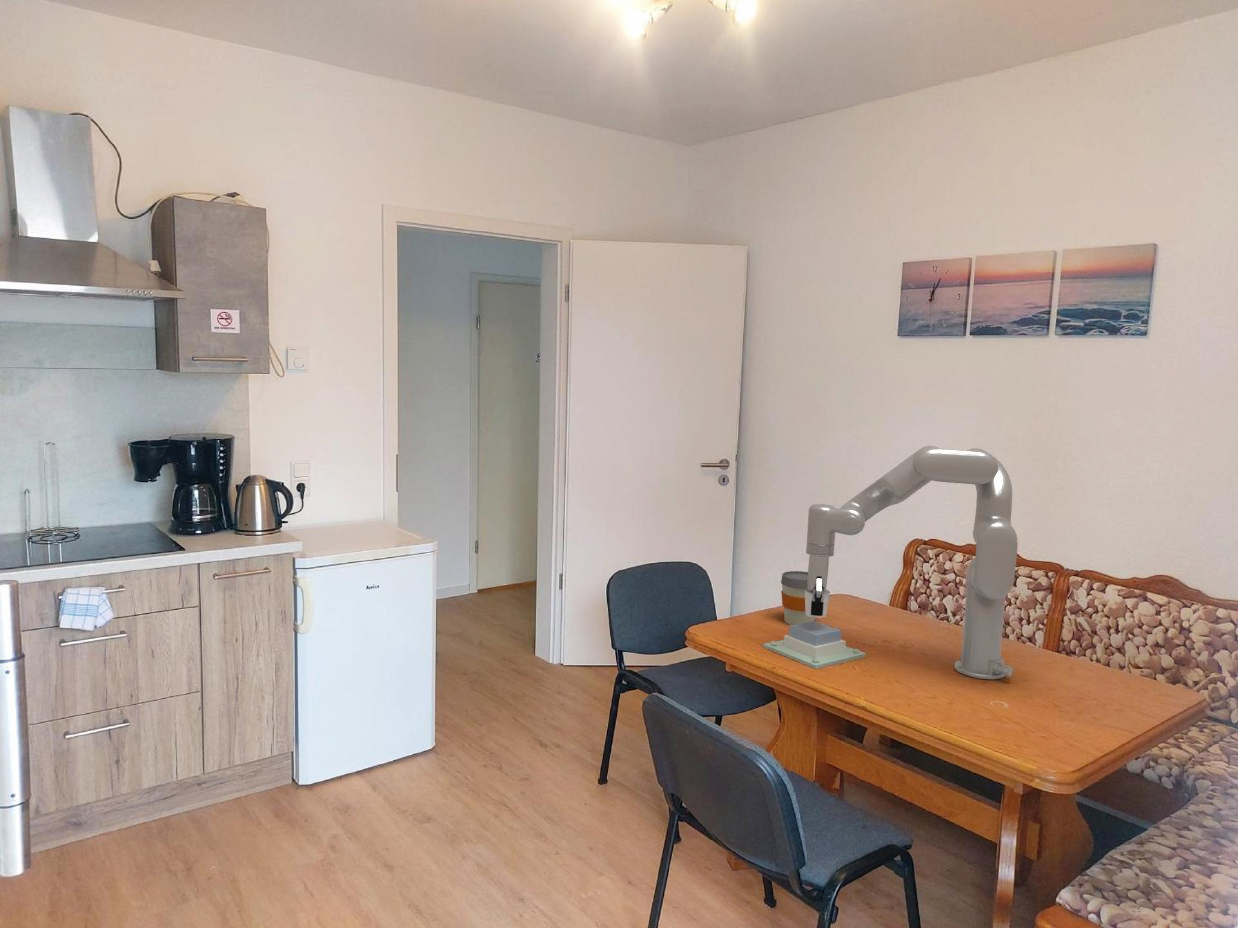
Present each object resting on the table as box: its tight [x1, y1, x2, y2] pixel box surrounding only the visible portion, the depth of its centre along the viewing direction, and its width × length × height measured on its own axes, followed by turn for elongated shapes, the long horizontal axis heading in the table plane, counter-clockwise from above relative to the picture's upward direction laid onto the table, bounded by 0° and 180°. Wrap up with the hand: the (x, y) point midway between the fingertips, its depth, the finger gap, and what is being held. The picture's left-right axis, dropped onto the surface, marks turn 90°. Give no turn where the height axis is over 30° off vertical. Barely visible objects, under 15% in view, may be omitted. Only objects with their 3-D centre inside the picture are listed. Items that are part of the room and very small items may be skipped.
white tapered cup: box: [805, 588, 831, 619], centre depth 232 cm, size 7×7×7 cm
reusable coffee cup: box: [780, 570, 815, 626], centre depth 262 cm, size 13×13×15 cm
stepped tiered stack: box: [762, 620, 867, 670], centre depth 234 cm, size 20×20×7 cm
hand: (816, 611), depth 233 cm, fingers closed on white tapered cup, 6 cm apart
